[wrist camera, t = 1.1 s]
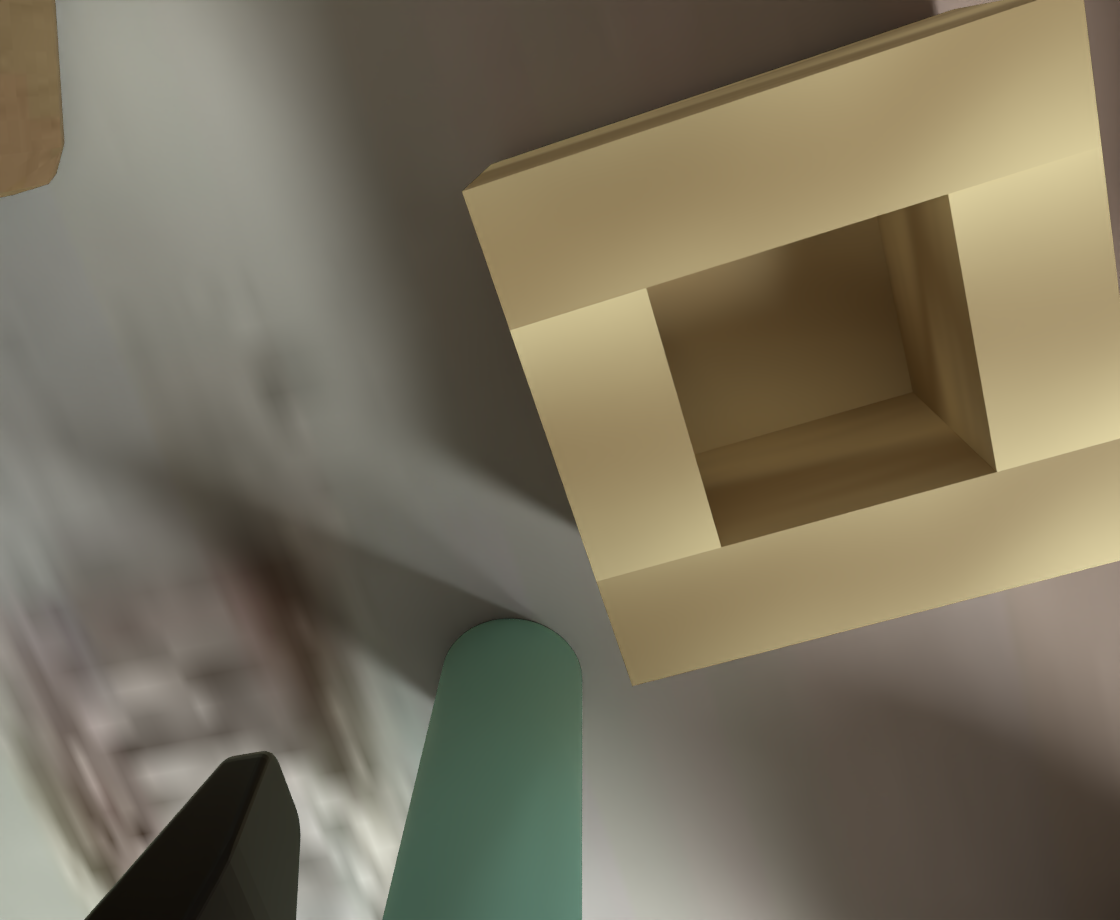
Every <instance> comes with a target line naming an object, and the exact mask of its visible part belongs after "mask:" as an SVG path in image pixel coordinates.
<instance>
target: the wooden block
mask: <svg viewBox="0 0 1120 920" xmlns="http://www.w3.org/2000/svg"><path fill="white" fill-rule="evenodd" d="M63 146H64V130H63V114H62V98H61V83H60V67H59V52H58V36H57V21H56V5H55V0H0V198H1V197H6V196H10V195H15V194H18V193H21V192H24V191H27V190H31V189H34V188H37V187H40V186H43V185H46V184H49V183H50V181H51V180H52V179H53V177H54V176H55V175H56V173H57V169H58V166H59V162H60V158H61V154H62V150H63Z"/></svg>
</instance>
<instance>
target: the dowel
mask: <svg viewBox="0 0 1120 920" xmlns="http://www.w3.org/2000/svg"><path fill="white" fill-rule="evenodd" d="M382 920H582V673H581V668H580V664H579V661H578V659H577V657H576V655H575V653H574V652H573V650H572V648H571V647H570V646H569V645H568V643H567V642H566V641H565V640H564V639H563V638H562V637H560V636H559V635H558V634H557V633H555V632H554V631H552V630H551V629H549V628H547V627H545V626H543V625H540V624H538V623H535V622H531V621H527V620H521V619H497V620H493V621H488V622H485V623H482V624H480V625H478V626H475V627H473V628H472V629H470V630H468V631H467V632H465V633H464V634H463V635H462V636H461V637H459V638H458V639H457V641H456V642H455V643H454V644H453V645H452V647H451V648H450V650H449V651H448V653H447V656H446V658H445V661H444V664H443V668H442V672H441V676H440V681H439V685H438V689H437V693H436V697H435V702H434V706H433V710H432V714H431V718H430V723H429V727H428V731H427V735H426V739H425V743H424V748H423V752H422V756H421V760H420V764H419V769H418V773H417V777H416V781H415V785H414V790H413V794H412V798H411V802H410V806H409V811H408V815H407V819H406V823H405V827H404V831H403V836H402V840H401V844H400V848H399V852H398V857H397V861H396V865H395V869H394V873H393V878H392V882H391V886H390V890H389V894H388V898H387V903H386V907H385V911H384V915H383V919H382Z"/></svg>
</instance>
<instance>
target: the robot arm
mask: <svg viewBox="0 0 1120 920" xmlns="http://www.w3.org/2000/svg"><path fill="white" fill-rule="evenodd" d="M299 854H300V824H299V818H298V813H297V810H296V807H295V805H294V802H293V799H292V797H291V794H290V791H289V789H288V786H287V783H286V781H285V778H284V775H283V773H282V770H281V767H280V765H279V762H278V760H277V759H276V757H275V756H274V755H273V754H272V753H270V752H267V751H261V752H255V753H249V754H243V755H237V756H232V757H229V758H227V759H226V760H225V761H223V762H222V763H221V764H220V765H219V766H218V768H217V769H216V770H215V771H214V772H213V773H212V774H211V776H210V777H209V778H208V779H207V780H206V781H205V782H204V784H203V785H202V786H201V787H200V788H199V789H198V790H197V792H196V793H195V794H194V795H193V796H192V797H191V798H190V800H189V801H188V802H187V803H186V804H185V805H184V806H183V808H182V809H181V810H180V811H179V812H178V813H177V814H176V815H175V817H174V818H173V819H172V820H171V821H170V822H169V823H168V825H167V826H166V827H165V828H164V829H163V830H162V831H161V833H160V834H159V835H158V836H157V837H156V838H155V839H154V841H153V842H152V843H151V844H150V845H149V846H148V847H147V849H146V850H145V851H144V852H143V853H142V854H141V855H140V857H139V858H138V859H137V860H136V861H135V862H134V863H133V865H132V866H131V867H130V868H129V869H128V870H127V871H126V873H125V874H124V875H123V876H122V877H121V878H120V879H119V881H118V882H117V883H116V884H115V885H114V886H113V887H112V889H111V890H110V891H109V892H108V893H107V894H106V895H105V897H104V898H103V899H102V900H101V901H100V902H99V903H98V905H97V906H96V907H95V908H94V909H93V910H92V911H91V913H90V914H89V915H88V916H87V917H86V918H85V919H84V920H296V909H297V891H298V873H299Z"/></svg>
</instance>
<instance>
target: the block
mask: <svg viewBox="0 0 1120 920" xmlns="http://www.w3.org/2000/svg"><path fill="white" fill-rule="evenodd" d="M462 193H463V196H464V199H465V202H466V205H467V208H468V210H469V213H470V216H471V219H472V222H473V225H474V228H475V231H476V234H477V237H478V239H479V242H480V245H481V248H482V251H483V254H484V257H485V260H486V263H487V266H488V268H489V271H490V274H491V277H492V280H493V283H494V286H495V289H496V292H497V295H498V297H499V300H500V303H501V306H502V309H503V312H504V315H505V318H506V321H507V324H508V327H509V329H510V332H511V335H512V338H513V341H514V344H515V347H516V350H517V353H518V356H519V358H520V361H521V364H522V367H523V370H524V373H525V376H526V379H527V382H528V385H529V387H530V390H531V393H532V396H533V399H534V402H535V405H536V408H537V411H538V414H539V416H540V419H541V422H542V425H543V428H544V431H545V434H546V437H547V440H548V443H549V445H550V448H551V451H552V454H553V457H554V460H555V463H556V466H557V469H558V472H559V475H560V477H561V480H562V483H563V486H564V489H565V492H566V495H567V498H568V501H569V504H570V506H571V509H572V512H573V515H574V518H575V521H576V524H577V527H578V530H579V533H580V535H581V538H582V541H583V544H584V547H585V550H586V553H587V556H588V559H589V562H590V564H591V567H592V570H593V573H594V576H595V579H596V582H597V585H598V588H599V591H600V594H601V596H602V599H603V602H604V605H605V608H606V611H607V614H608V617H609V620H610V623H611V625H612V628H613V631H614V634H615V637H616V640H617V643H618V646H619V649H620V652H621V654H622V657H623V660H624V663H625V666H626V669H627V672H628V675H629V678H630V681H631V683H632V686H635V685H639V684H643V683H646V682H650V681H654V680H658V679H662V678H666V677H670V676H674V675H677V674H681V673H685V672H689V671H693V670H697V669H701V668H705V667H708V666H712V665H716V664H720V663H724V662H728V661H732V660H736V659H739V658H743V657H747V656H751V655H755V654H759V653H763V652H767V651H771V650H774V649H778V648H782V647H786V646H790V645H794V644H798V643H802V642H805V641H809V640H813V639H817V638H821V637H825V636H829V635H833V634H836V633H840V632H844V631H848V630H852V629H856V628H860V627H864V626H867V625H871V624H875V623H879V622H883V621H887V620H891V619H895V618H898V617H902V616H906V615H910V614H914V613H918V612H922V611H926V610H930V609H933V608H937V607H941V606H945V605H949V604H953V603H957V602H961V601H964V600H968V599H972V598H976V597H980V596H984V595H988V594H992V593H995V592H999V591H1003V590H1007V589H1011V588H1015V587H1019V586H1023V585H1026V584H1030V583H1034V582H1038V581H1042V580H1046V579H1050V578H1054V577H1057V576H1061V575H1065V574H1069V573H1073V572H1077V571H1081V570H1085V569H1089V568H1092V567H1096V566H1100V565H1104V564H1108V563H1112V562H1116V561H1120V296H1119V287H1118V279H1117V271H1116V263H1115V254H1114V246H1113V238H1112V229H1111V221H1110V213H1109V205H1108V196H1107V188H1106V180H1105V171H1104V163H1103V155H1102V147H1101V138H1100V130H1099V122H1098V113H1097V105H1096V97H1095V89H1094V80H1093V72H1092V64H1091V55H1090V47H1089V39H1088V31H1087V22H1086V14H1085V6H1084V0H1001V1H996V2H990V3H985V4H980V5H974V6H969V7H964V8H958V9H953V10H950V11H947V12H944V13H941V14H938V15H935V16H932V17H929V18H926V19H923V20H920V21H917V22H914V23H911V24H908V25H905V26H903V27H900V28H897V29H894V30H891V31H888V32H885V33H882V34H879V35H876V36H873V37H870V38H867V39H864V40H861V41H858V42H855V43H852V44H849V45H846V46H843V47H840V48H837V49H834V50H831V51H828V52H825V53H822V54H819V55H816V56H813V57H810V58H807V59H804V60H801V61H798V62H795V63H792V64H789V65H786V66H783V67H780V68H777V69H774V70H771V71H768V72H765V73H762V74H759V75H756V76H753V77H750V78H747V79H744V80H741V81H738V82H735V83H732V84H729V85H726V86H723V87H720V88H717V89H714V90H711V91H708V92H705V93H703V94H700V95H697V96H694V97H691V98H688V99H685V100H682V101H679V102H676V103H673V104H670V105H667V106H664V107H661V108H658V109H655V110H652V111H649V112H646V113H643V114H640V115H637V116H634V117H631V118H628V119H625V120H622V121H619V122H616V123H613V124H610V125H607V126H604V127H601V128H598V129H595V130H592V131H589V132H586V133H583V134H580V135H577V136H574V137H571V138H568V139H565V140H562V141H559V142H556V143H553V144H550V145H547V146H544V147H541V148H538V149H535V150H532V151H529V152H526V153H523V154H520V155H517V156H514V157H511V158H508V159H505V160H502V161H500V162H497V163H494V164H491V165H490V166H489V167H488V168H487V169H486V170H484V171H483V172H482V173H481V174H480V175H479V176H478V177H477V178H476V179H475V180H474V181H473V182H472V183H471V184H470V185H468V186H467V187H466V188H465V189H464V190H463V191H462Z"/></svg>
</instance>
